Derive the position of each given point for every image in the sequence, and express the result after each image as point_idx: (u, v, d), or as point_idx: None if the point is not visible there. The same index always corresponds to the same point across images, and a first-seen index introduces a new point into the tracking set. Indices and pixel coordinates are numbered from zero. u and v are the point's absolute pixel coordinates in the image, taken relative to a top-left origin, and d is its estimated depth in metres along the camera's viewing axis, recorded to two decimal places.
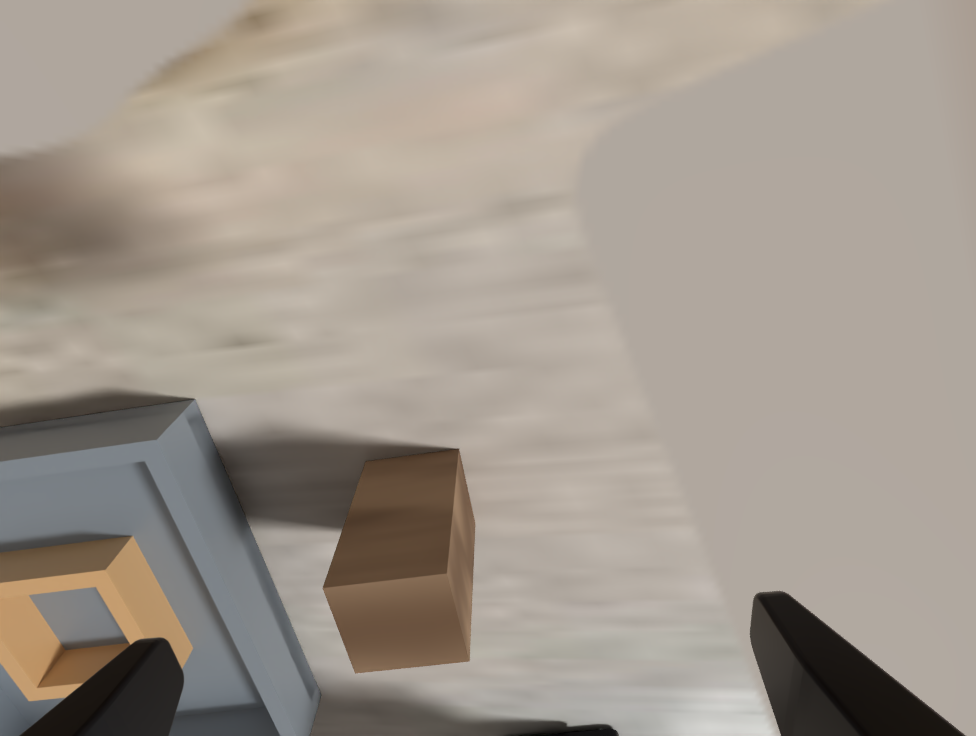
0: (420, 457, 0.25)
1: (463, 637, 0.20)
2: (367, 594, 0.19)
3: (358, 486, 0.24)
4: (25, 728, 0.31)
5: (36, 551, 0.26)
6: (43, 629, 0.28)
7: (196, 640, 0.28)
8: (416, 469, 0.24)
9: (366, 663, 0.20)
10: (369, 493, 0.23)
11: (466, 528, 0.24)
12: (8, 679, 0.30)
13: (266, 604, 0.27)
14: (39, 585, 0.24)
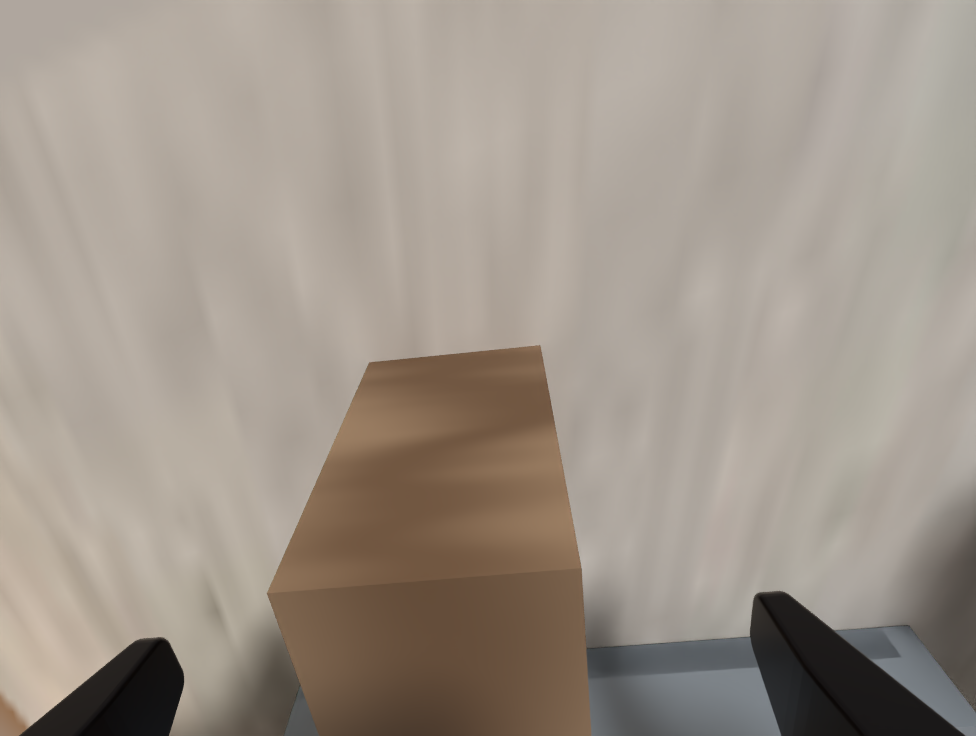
0: None
1: (494, 572, 0.07)
2: (346, 726, 0.09)
3: None
4: None
5: None
6: None
7: None
8: None
9: None
10: None
11: (463, 398, 0.12)
12: None
13: (646, 679, 0.17)
14: None
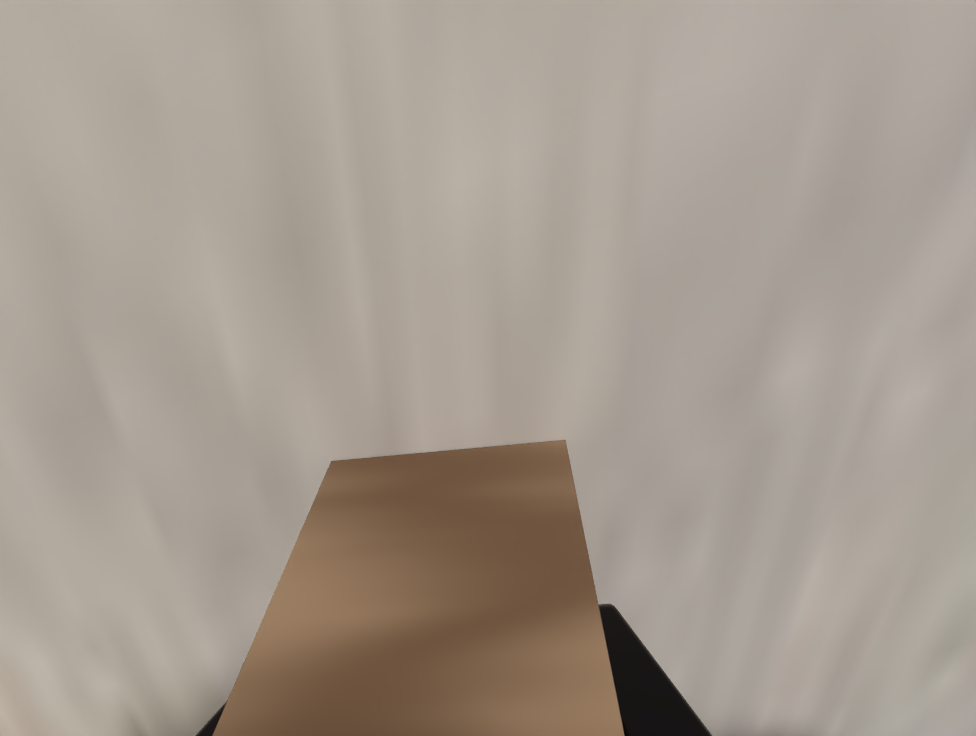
0: None
1: None
2: None
3: None
4: None
5: None
6: None
7: None
8: None
9: None
10: None
11: (458, 541, 0.08)
12: None
13: None
14: None
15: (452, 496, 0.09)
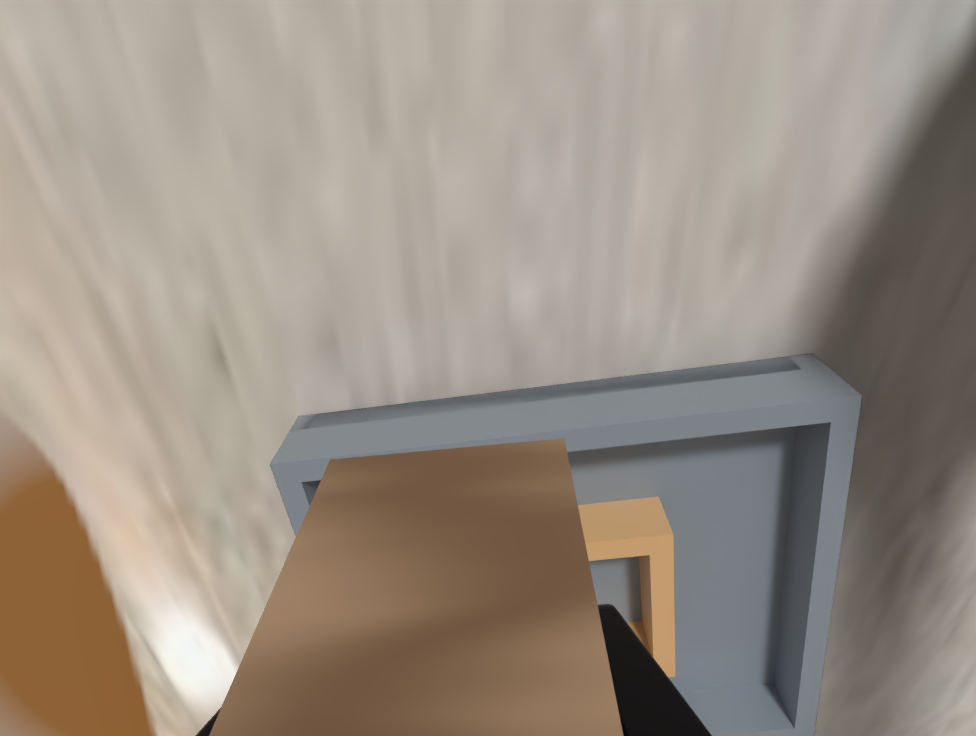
0: None
1: None
2: None
3: None
4: (762, 689, 0.26)
5: None
6: None
7: (644, 490, 0.21)
8: None
9: None
10: None
11: (457, 539, 0.08)
12: (680, 680, 0.26)
13: (584, 397, 0.20)
14: None
15: (451, 494, 0.09)
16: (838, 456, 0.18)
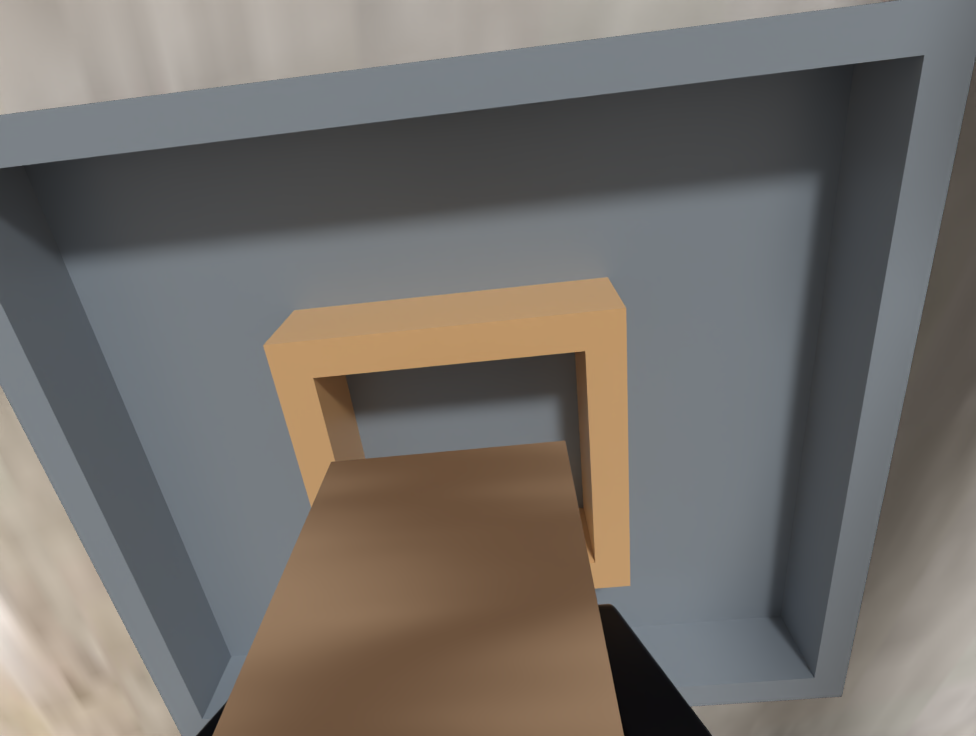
0: None
1: None
2: None
3: None
4: (763, 624, 0.17)
5: None
6: None
7: (585, 263, 0.13)
8: None
9: None
10: None
11: (458, 542, 0.08)
12: (642, 609, 0.17)
13: None
14: (318, 472, 0.13)
15: (452, 497, 0.09)
16: (931, 139, 0.10)
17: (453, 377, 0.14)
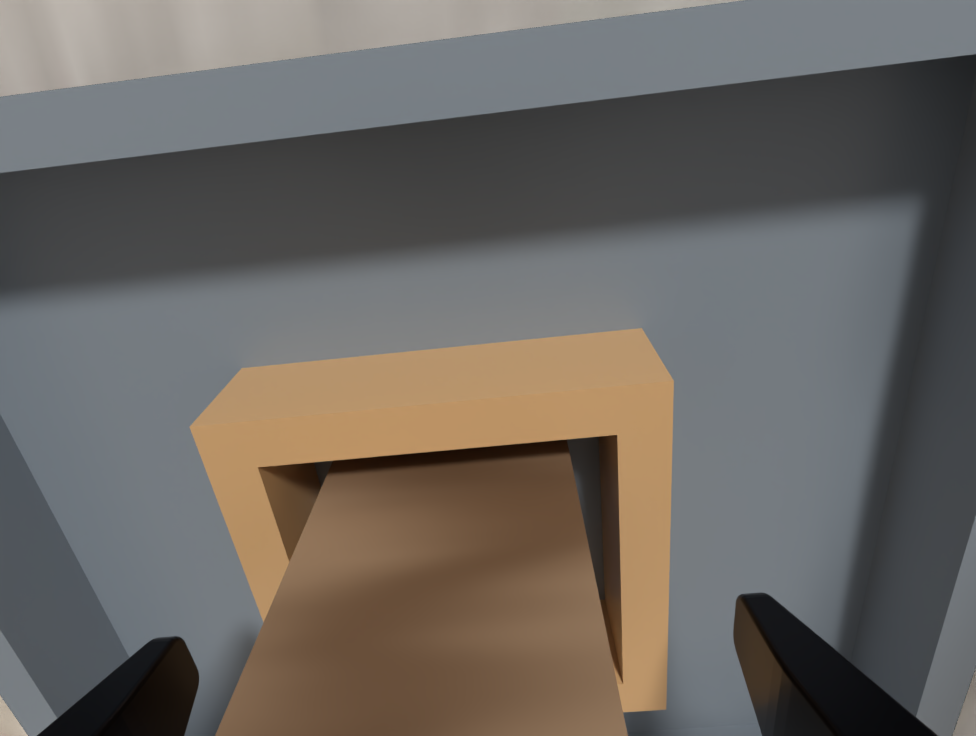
0: None
1: None
2: None
3: None
4: None
5: None
6: None
7: (612, 311, 0.10)
8: None
9: None
10: None
11: (463, 497, 0.09)
12: (673, 710, 0.14)
13: None
14: (270, 580, 0.10)
15: (457, 460, 0.10)
16: None
17: None
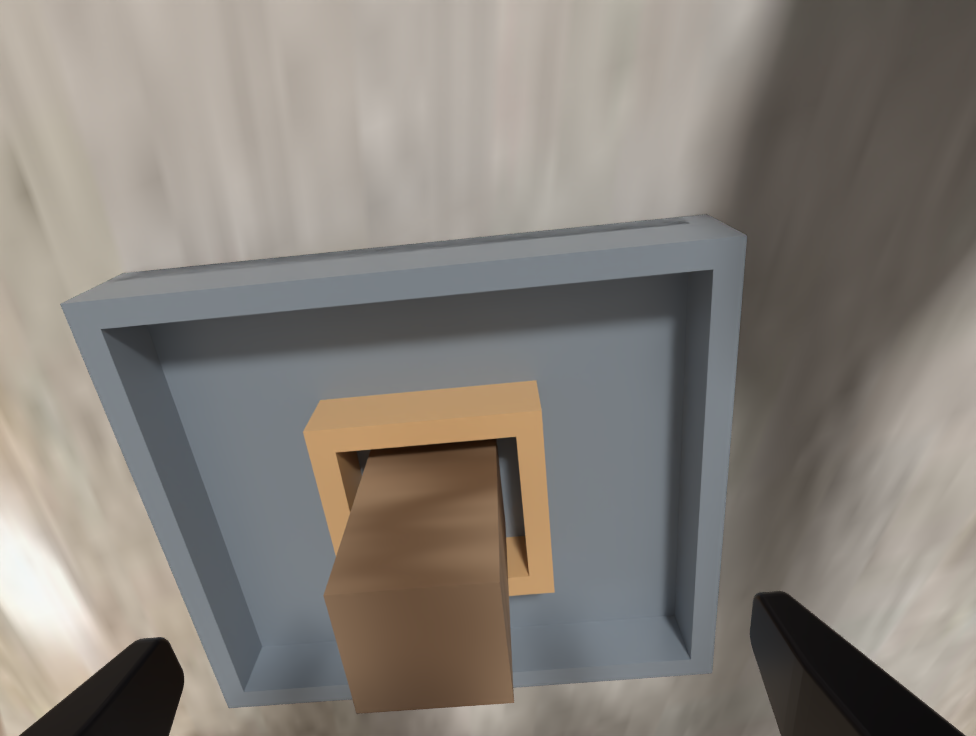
0: None
1: (451, 584, 0.13)
2: (365, 676, 0.15)
3: None
4: (661, 621, 0.23)
5: None
6: None
7: (520, 371, 0.19)
8: None
9: (494, 689, 0.15)
10: None
11: (439, 467, 0.18)
12: (572, 610, 0.23)
13: (444, 249, 0.17)
14: (337, 514, 0.19)
15: (437, 450, 0.19)
16: (723, 314, 0.16)
17: None
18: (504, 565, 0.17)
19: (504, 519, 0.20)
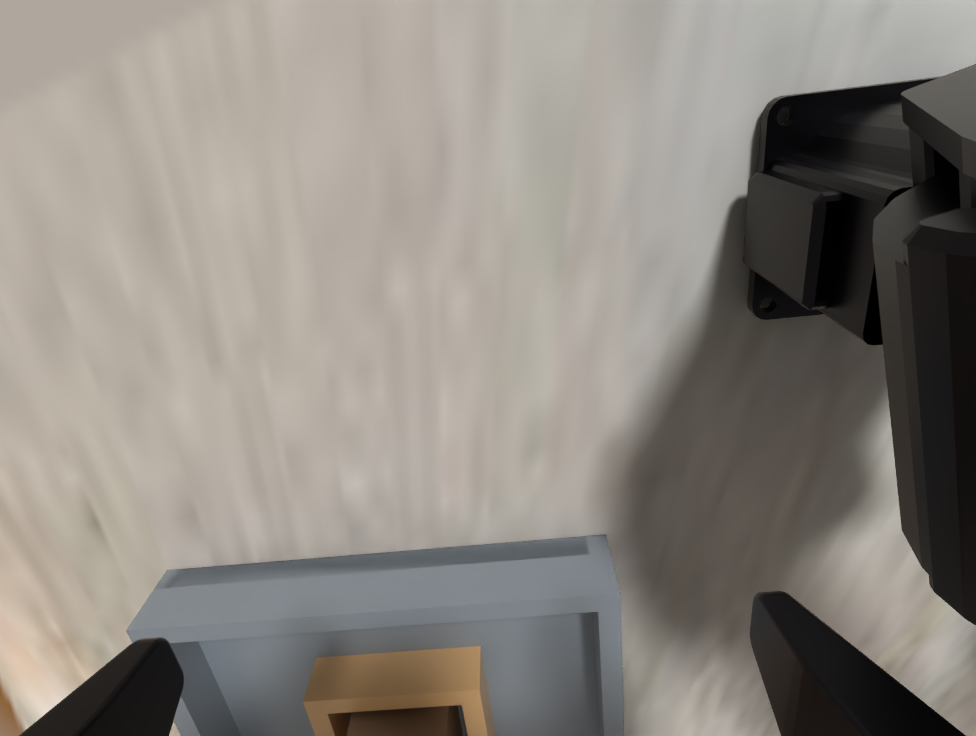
0: None
1: None
2: None
3: None
4: None
5: None
6: None
7: (468, 641, 0.25)
8: None
9: None
10: None
11: (405, 726, 0.24)
12: None
13: (406, 571, 0.23)
14: None
15: None
16: (609, 636, 0.22)
17: None
18: None
19: None
